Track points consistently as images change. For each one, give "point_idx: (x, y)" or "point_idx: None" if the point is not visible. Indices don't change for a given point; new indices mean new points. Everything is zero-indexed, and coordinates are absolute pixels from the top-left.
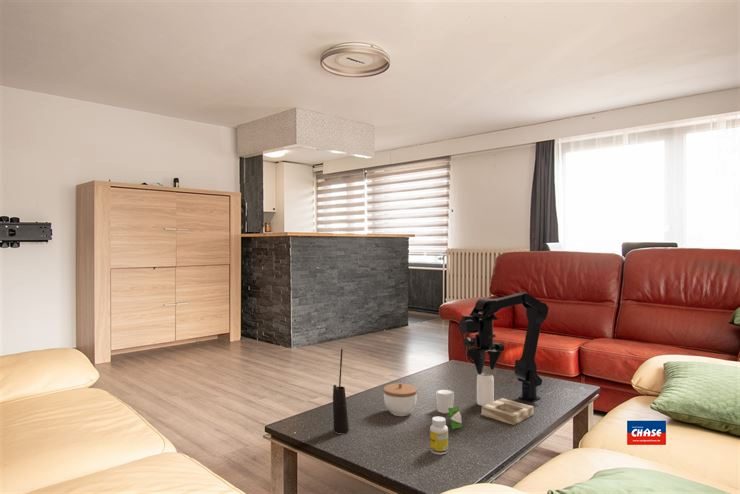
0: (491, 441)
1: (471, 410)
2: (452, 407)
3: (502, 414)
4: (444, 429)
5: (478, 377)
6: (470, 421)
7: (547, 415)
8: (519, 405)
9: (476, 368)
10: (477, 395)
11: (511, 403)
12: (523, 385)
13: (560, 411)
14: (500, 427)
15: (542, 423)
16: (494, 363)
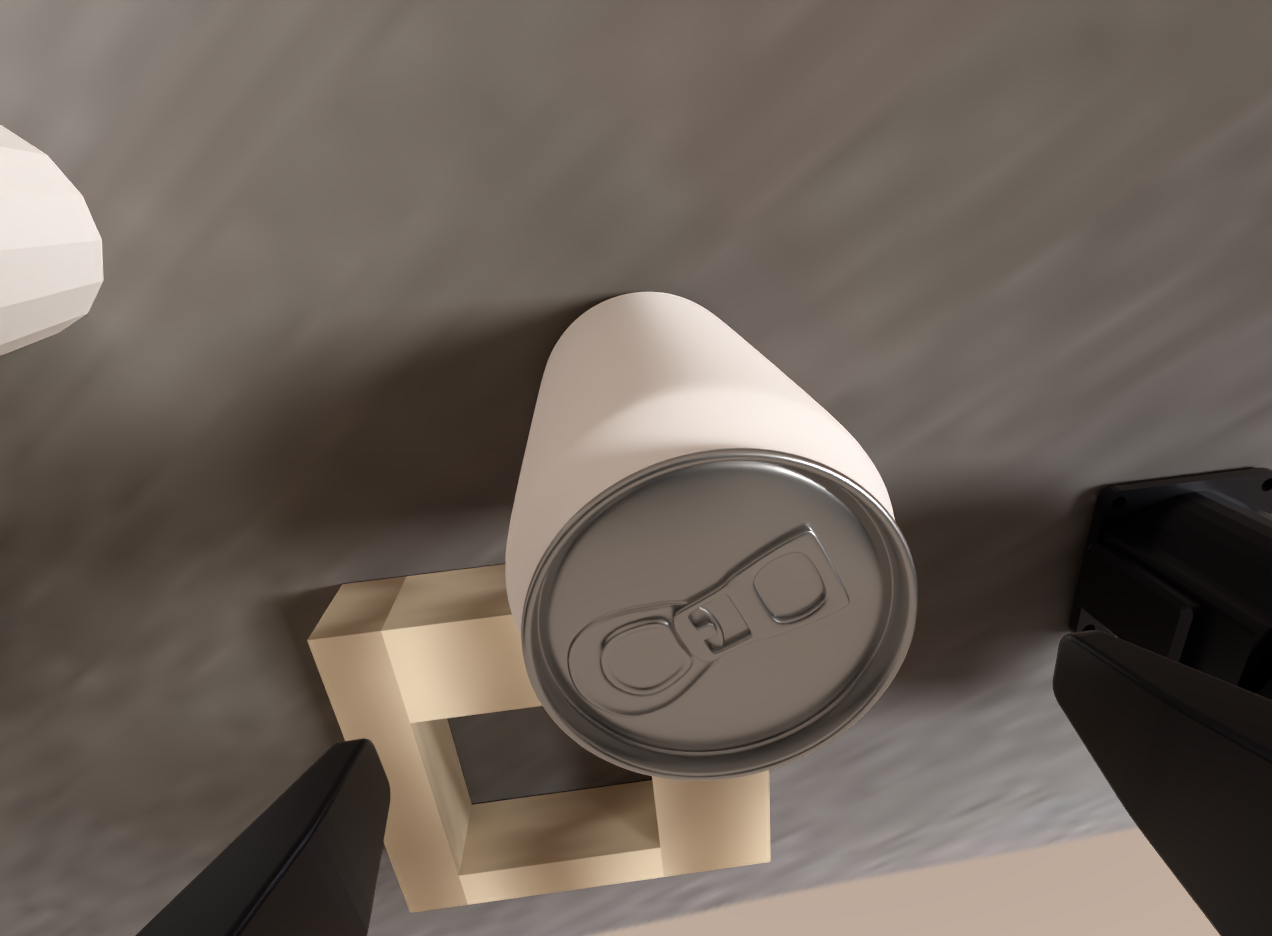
0: (33, 926)
1: (337, 436)
2: (13, 350)
3: None
4: None
5: (517, 541)
6: (110, 632)
7: (820, 842)
8: (697, 795)
9: (177, 906)
10: (543, 381)
11: None
12: (1233, 638)
13: (974, 840)
14: None
15: (639, 901)
16: (1224, 921)
